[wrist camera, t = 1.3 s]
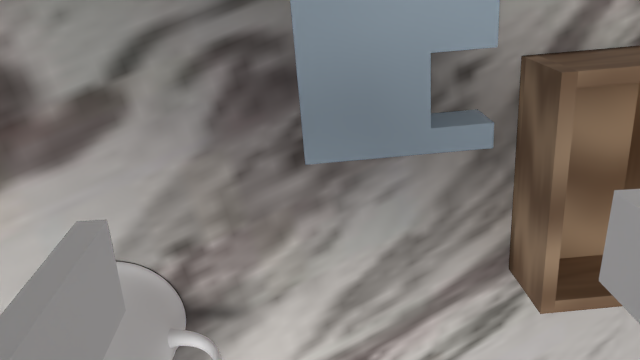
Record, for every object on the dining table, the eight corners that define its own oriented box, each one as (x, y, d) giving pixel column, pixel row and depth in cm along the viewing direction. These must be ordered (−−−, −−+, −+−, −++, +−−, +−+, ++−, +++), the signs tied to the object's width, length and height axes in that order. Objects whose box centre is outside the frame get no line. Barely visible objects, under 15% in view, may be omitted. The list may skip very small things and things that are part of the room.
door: (275, -167, 23) (273, -181, 21) (486, -183, 23) (508, -199, 21) (304, 147, 28) (305, 164, 26) (476, 132, 29) (493, 148, 26)
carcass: (521, 56, 31) (605, 91, 23) (657, 44, 31) (790, 75, 23) (508, 268, 36) (573, 360, 28) (624, 258, 37) (723, 346, 28)
